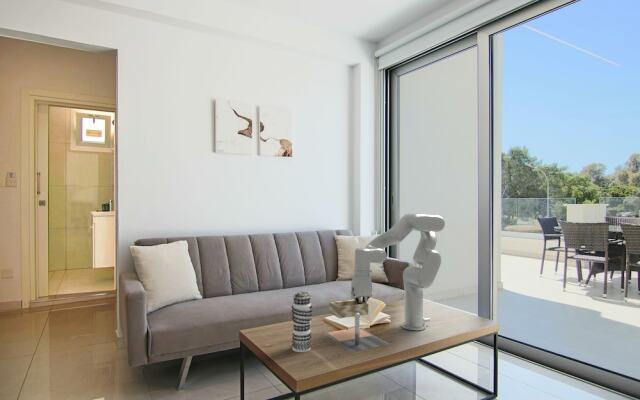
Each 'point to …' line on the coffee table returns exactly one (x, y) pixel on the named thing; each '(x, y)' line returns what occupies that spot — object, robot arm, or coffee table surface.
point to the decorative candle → (301, 322)
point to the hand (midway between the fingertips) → (361, 310)
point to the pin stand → (356, 338)
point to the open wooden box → (348, 308)
